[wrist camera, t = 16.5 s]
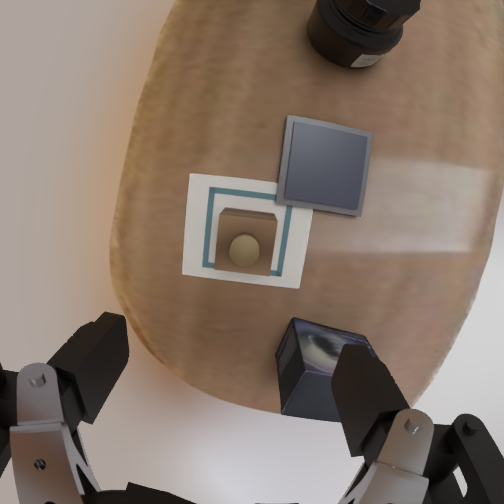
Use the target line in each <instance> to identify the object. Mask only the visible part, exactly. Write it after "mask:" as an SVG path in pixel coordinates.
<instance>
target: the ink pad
mask: <svg viewBox="0 0 504 504" xmlns="http://www.w3.org/2000/svg"><path fill="white" fill-rule="evenodd" d="M371 143H372V133H371V132H367V131H363V130H359V129H355V128H351V127H347V126H343V125H339V124H334V123H330V122H325V121H320V120H315V119H310V118H304V117H298V116H293V115H287V117H286V124H285V132H284V140H283V147H282V155H281V162H280V170H279V177H278V186H277V193H276V201H275V203H277V204H284V205H291V206H298V207H305V208H311V209H318V210H324V211H330V212H336V213H342V214H348V215H354V216H359V217H361V213H362V207H363V201H364V195H365V189H366V182H367V175H368V168H369V160H370V152H371Z"/></svg>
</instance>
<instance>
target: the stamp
mask: <svg viewBox="0 0 504 504" xmlns="http://www.w3.org/2000/svg"><path fill="white" fill-rule="evenodd" d="M277 224H278V221H277V218H276V216H275V214H274V213H268V212H260V211H252V210H244V209H236V208H228V207H225V208H224V209H223V210H222V212H221V213H220V214H219V222H218V232H217V242H216V252H215V263H214V270H221V271H229V272H237V273H245V274H253V275H261V276H270V271H271V264H272V258H273V251H274V244H275V238H276V231H277Z"/></svg>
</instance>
